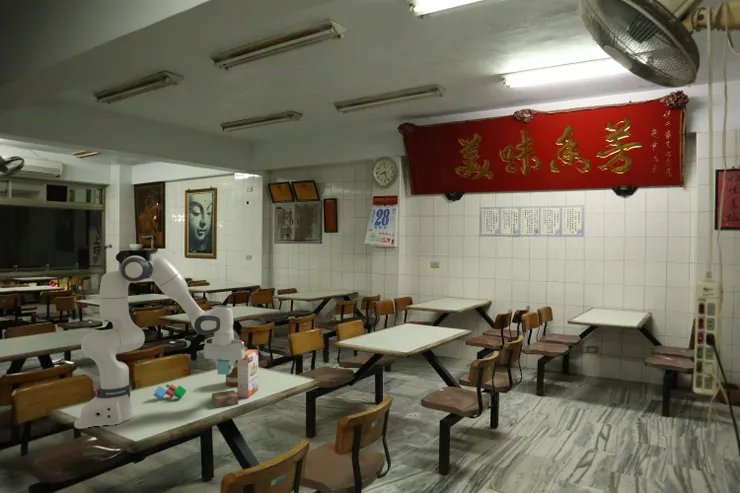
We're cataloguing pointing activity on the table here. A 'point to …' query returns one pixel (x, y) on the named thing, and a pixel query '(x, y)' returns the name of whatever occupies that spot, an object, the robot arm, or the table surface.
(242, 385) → the cracker box
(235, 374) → the mug
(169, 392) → the building blocks
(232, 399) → the walnut base block
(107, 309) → the robot arm
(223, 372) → the teal block
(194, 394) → the table surface
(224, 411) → the table surface
